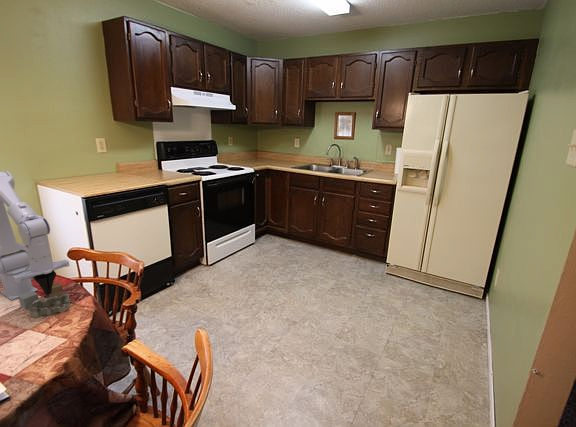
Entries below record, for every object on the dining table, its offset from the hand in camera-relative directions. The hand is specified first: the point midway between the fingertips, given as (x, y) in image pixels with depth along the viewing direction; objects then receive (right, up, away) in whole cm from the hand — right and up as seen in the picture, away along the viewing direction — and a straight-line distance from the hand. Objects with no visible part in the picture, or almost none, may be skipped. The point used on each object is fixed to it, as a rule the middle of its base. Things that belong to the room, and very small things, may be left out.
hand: (47, 293), depth 102 cm
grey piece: (0, -6, +2) cm, 7 cm away
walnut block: (-5, -3, +10) cm, 12 cm away
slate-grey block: (-9, -5, +4) cm, 11 cm away
